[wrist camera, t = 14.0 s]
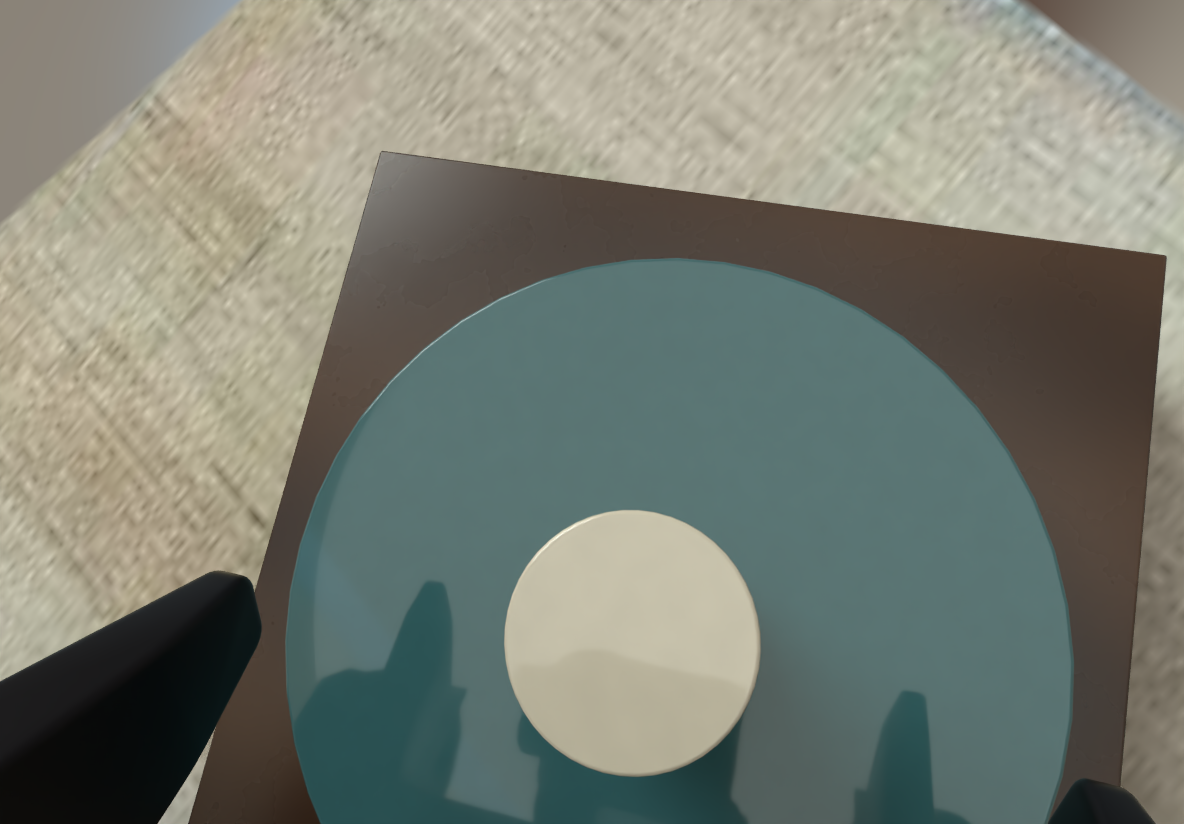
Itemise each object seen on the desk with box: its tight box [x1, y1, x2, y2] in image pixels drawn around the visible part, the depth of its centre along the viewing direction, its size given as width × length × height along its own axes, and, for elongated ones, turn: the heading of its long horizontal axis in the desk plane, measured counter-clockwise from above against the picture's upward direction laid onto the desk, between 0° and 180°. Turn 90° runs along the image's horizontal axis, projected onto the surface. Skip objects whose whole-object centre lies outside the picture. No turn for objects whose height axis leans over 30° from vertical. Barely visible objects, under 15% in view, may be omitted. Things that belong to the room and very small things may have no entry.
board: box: [188, 151, 1167, 824], centre depth 15 cm, size 15×14×3 cm
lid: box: [285, 258, 1074, 824], centre depth 11 cm, size 12×12×5 cm
